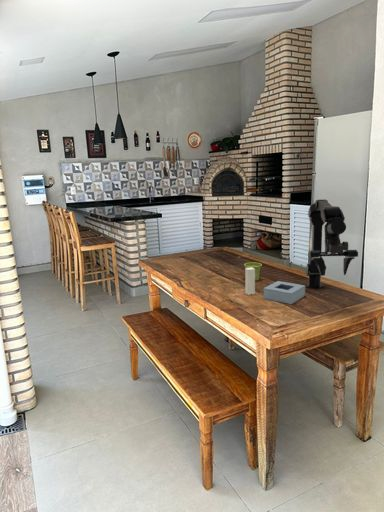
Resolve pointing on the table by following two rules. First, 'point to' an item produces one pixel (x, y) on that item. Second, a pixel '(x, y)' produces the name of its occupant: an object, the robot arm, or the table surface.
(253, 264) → the plant pot
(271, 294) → the grey thick square frame
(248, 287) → the post
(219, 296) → the table surface
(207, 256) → the table surface
